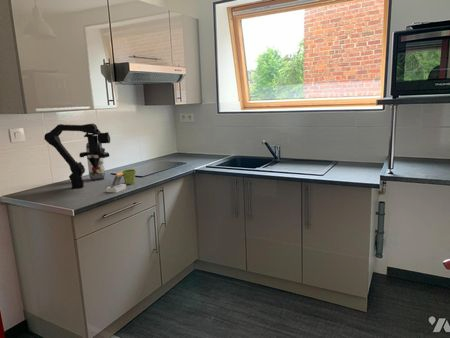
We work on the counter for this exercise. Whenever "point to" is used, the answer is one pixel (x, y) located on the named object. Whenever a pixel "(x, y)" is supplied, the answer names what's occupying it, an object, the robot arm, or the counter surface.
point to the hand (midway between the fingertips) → (95, 168)
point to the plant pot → (129, 176)
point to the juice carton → (96, 172)
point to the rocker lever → (117, 178)
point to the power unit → (116, 188)
